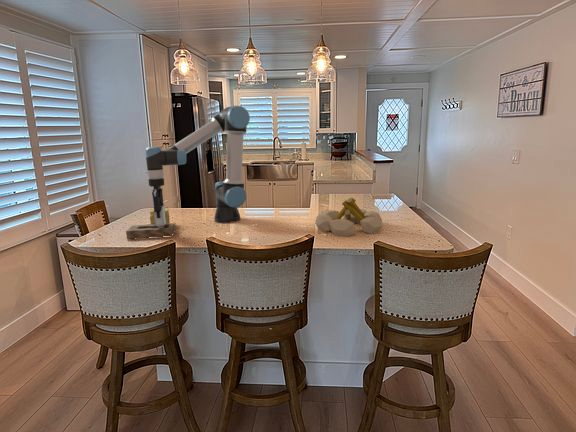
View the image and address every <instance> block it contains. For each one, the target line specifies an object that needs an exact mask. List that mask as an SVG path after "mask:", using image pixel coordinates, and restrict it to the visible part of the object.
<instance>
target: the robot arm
mask: <svg viewBox="0 0 576 432" xmlns="http://www.w3.org/2000/svg"><path fill="white" fill-rule="evenodd" d="M250 118H251V117H250V114H249V112H248V110H247V109H246V108H245V107H243V106H241V105H233V106H227V107H225V108H223V109H221V111H219V112H218V113H217V114H216V115H215V116H213V117H211V120H210V121H209V122H207V123H206V124H204V125H202V126H200V127H199V128H198V129H196V130H195V131H194V132H191V133H190V134H188V135H187V136H186V137H184V138H182V139H181V140H179V141H178V142H176V143H175V144H173V145H172V146H170V147H168V148H165V149H164V150H162V148H161V147H160V146H151V147H146V149H145V161H146V170H147V171H146V174H147V178H148V187H153V189H152V192H151V194H152V202H153V209H154V212H156V221H157V224H162V214H161V209H160V205H164V198H163V197H164V195H163V188H162V187H163V186H164V185H165V178H164V167H165V166H181V165H185V164H186V163H187V154H188V153H190V152H191V151H193V150H194V149H196V148H198V147H199V146H200V145H202V144H204V143H205V142H206V141H207V142H208V140H210V139H212V138H213V137H215V136H216V135H217V134H219V133H221V134H222V133H224V132H225V134H226V136H227V137H226V138H227V139H226V164H225V167H226V168H225V170H226V171H225V179H224V180H223V181H217V182H215V184H214V190H215V204H216V209H215V212H214V222H215V223H221V224H222V223H223V224H224V223H225V224H228V223H235V222H238V221H240V220H241V214H240V211H239V210H238V208H239V207H242V206H243V205H244V204H245V202H246V200H247V192H246V190H245V182H244V181H243V178H242V177H243V174H242V173H243V158H244V157H243V154H244V135H245V134H246V133H247V129H248V128H247V126H248V125H249V123H250ZM165 208H166V207H165V205H164V209H165Z"/></svg>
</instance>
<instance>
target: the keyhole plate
mask: <svg viewBox="0 0 576 432" xmlns="http://www.w3.org/2000/svg"><path fill="white" fill-rule="evenodd" d="M174 231H175V232H176V224H175V222H174V223H173V222H171V223H170V222H169V223H167V224H165V226H164V228H158V226H155V224H132V225H131V226H130V227H129V228H127V229H126V230H125V234H126V240H127V239H131V240H136V239H135V238H149V237H163V236H172V234H173V233H174ZM174 234H175V233H174ZM174 234H173V235H174ZM172 237H173V236H172ZM149 239H150V238H149Z"/></svg>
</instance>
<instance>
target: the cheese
mask: <svg viewBox="0 0 576 432" xmlns="http://www.w3.org/2000/svg"><path fill="white" fill-rule="evenodd" d="M164 210H165V220H166V224H167V223H170V212H169V208H168V207H165V209H164ZM149 216H150V217H149V221H150V224H155V216H154V208H151V209H149Z"/></svg>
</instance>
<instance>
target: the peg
mask: <svg viewBox="0 0 576 432" xmlns="http://www.w3.org/2000/svg"><path fill="white" fill-rule="evenodd" d="M164 207H165V205H160V209H161V214H162V224H157V221H156V212H154V216H155V226H158V228H164V226H165V224H166V220H165V210H164Z"/></svg>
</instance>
